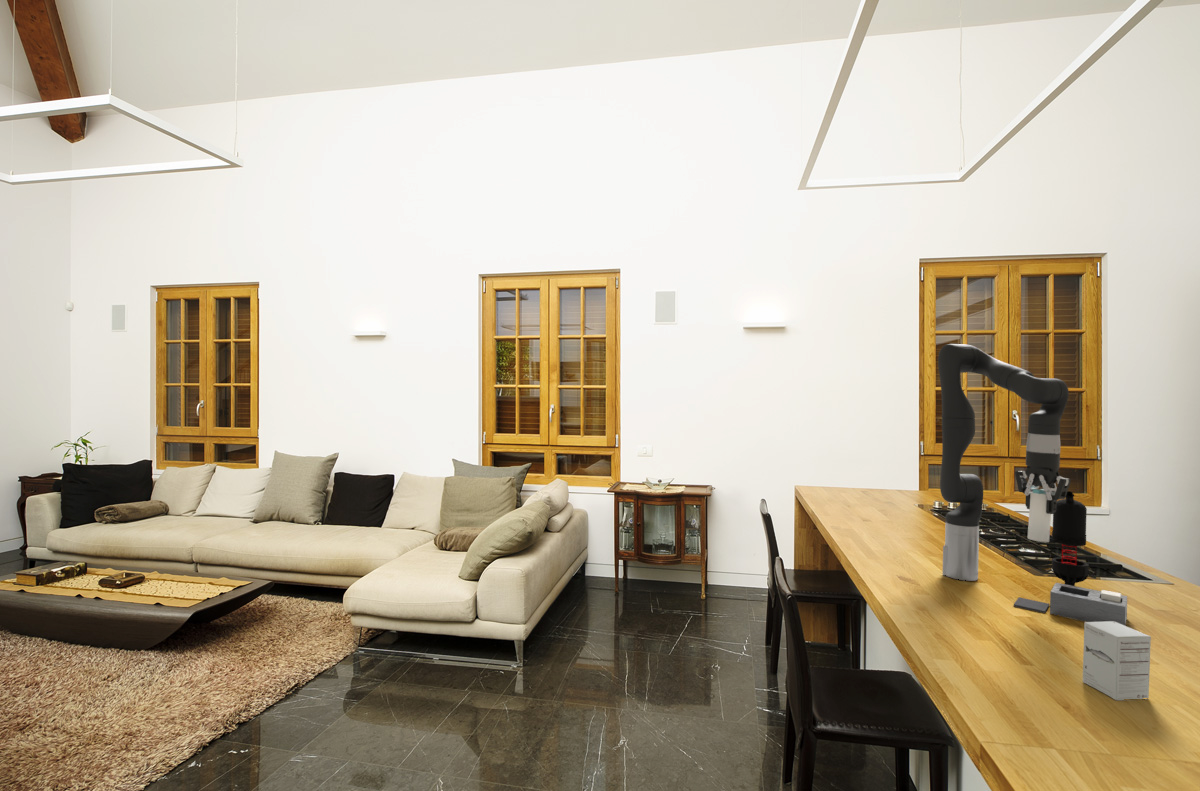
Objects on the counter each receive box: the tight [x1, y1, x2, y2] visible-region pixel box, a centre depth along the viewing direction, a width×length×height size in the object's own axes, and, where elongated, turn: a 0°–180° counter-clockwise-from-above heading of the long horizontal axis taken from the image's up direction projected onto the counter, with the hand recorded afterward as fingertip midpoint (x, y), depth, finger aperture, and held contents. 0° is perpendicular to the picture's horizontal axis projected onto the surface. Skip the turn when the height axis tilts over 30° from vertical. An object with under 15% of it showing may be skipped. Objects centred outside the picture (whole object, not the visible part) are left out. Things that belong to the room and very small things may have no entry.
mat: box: [1013, 597, 1050, 614], centre depth 162 cm, size 7×8×1 cm
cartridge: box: [1027, 488, 1052, 543], centre depth 161 cm, size 5×5×14 cm
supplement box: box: [1082, 621, 1152, 701], centre depth 116 cm, size 7×7×13 cm
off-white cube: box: [1100, 589, 1122, 602], centre depth 152 cm, size 4×4×5 cm
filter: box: [1051, 490, 1090, 586], centre depth 181 cm, size 14×9×30 cm
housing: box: [1049, 582, 1128, 626], centre depth 155 cm, size 15×11×6 cm
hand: (1040, 511), depth 161 cm, fingers closed on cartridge, 4 cm apart
